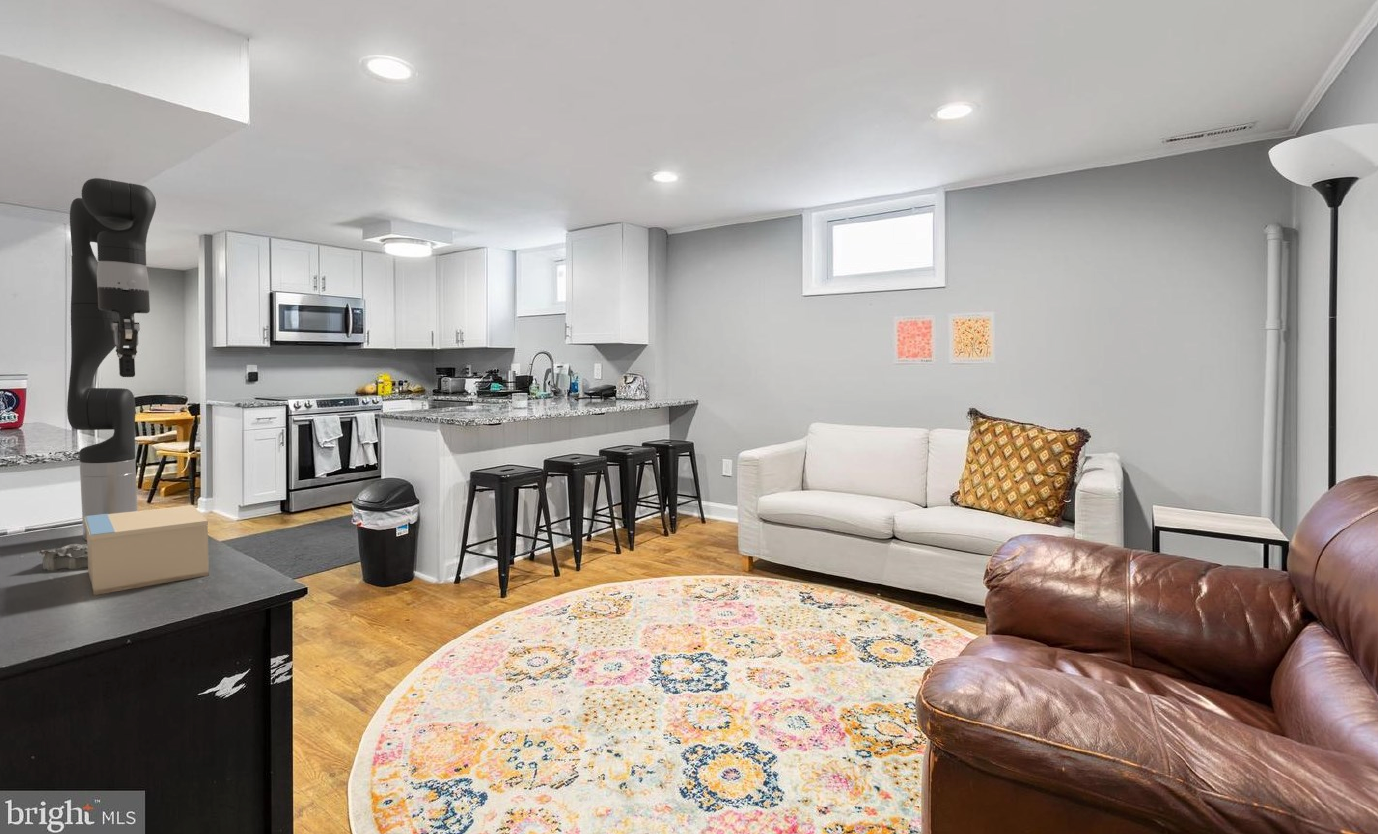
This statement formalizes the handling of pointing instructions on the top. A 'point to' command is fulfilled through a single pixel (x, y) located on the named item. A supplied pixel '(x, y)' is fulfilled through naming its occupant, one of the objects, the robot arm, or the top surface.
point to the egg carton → (66, 557)
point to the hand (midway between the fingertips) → (127, 376)
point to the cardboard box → (147, 558)
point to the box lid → (143, 521)
